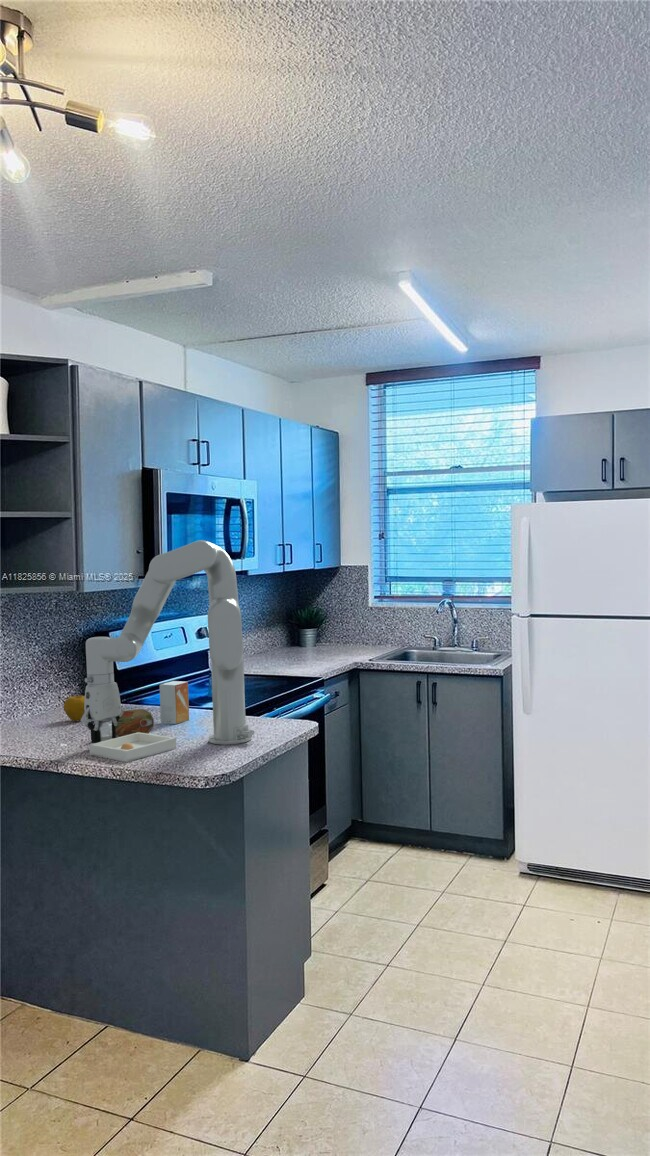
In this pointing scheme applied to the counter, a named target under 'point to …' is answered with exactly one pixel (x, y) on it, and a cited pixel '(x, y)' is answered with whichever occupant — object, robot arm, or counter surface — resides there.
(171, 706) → the small box
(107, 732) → the shaker
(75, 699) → the apple
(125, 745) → the ball
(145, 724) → the tin
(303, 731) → the counter surface
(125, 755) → the tray
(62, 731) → the counter surface
